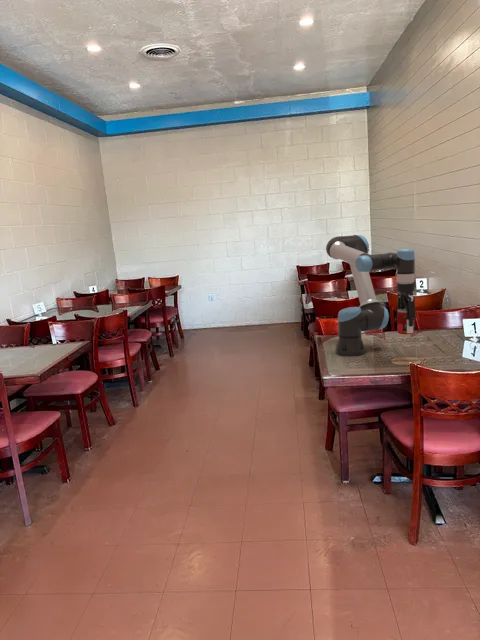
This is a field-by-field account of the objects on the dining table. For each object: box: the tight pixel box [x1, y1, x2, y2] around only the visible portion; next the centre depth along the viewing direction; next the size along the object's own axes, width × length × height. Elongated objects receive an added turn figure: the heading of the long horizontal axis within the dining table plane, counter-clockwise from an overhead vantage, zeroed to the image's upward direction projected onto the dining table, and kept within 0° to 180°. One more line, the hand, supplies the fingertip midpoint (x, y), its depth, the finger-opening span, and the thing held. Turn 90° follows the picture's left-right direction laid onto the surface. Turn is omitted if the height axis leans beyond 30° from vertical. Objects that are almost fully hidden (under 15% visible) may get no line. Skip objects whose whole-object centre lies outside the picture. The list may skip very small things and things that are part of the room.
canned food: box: [396, 309, 416, 335], centre depth 223 cm, size 8×8×11 cm
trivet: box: [391, 356, 422, 367], centre depth 226 cm, size 13×13×1 cm
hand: (406, 331), depth 223 cm, fingers closed on canned food, 8 cm apart
